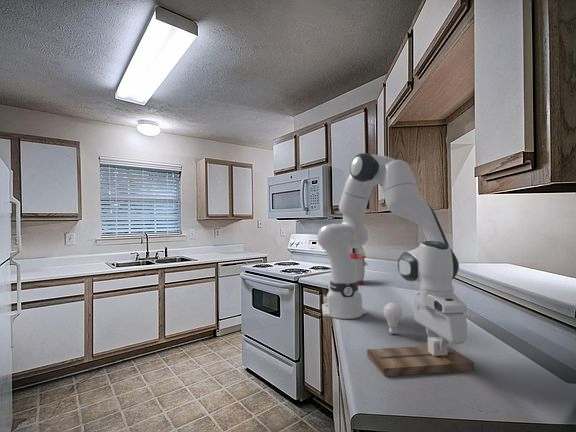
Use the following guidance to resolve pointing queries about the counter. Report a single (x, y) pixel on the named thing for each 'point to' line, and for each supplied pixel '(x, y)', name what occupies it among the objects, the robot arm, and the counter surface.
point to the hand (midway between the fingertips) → (437, 347)
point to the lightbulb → (392, 316)
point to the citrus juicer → (359, 266)
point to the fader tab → (434, 346)
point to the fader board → (417, 361)
